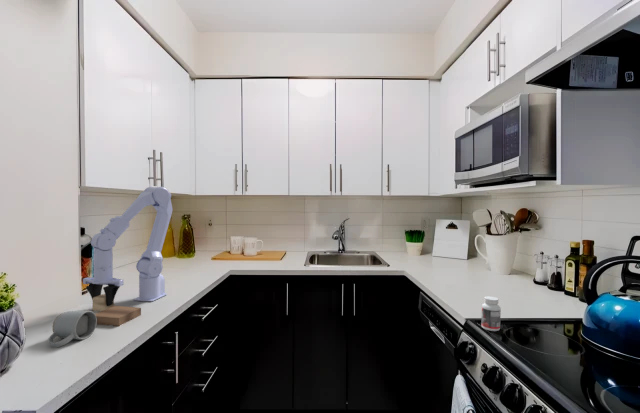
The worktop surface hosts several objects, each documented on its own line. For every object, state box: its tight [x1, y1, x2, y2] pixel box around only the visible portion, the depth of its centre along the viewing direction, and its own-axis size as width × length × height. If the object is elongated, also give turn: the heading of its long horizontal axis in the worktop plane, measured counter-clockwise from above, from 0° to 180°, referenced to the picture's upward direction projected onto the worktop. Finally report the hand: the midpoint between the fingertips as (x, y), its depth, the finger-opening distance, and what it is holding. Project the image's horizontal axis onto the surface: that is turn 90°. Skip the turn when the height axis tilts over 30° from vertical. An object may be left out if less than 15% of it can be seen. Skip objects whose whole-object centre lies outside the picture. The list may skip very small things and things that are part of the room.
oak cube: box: [92, 293, 115, 312], centre depth 119 cm, size 4×4×4 cm
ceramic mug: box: [47, 310, 98, 348], centre depth 94 cm, size 11×8×8 cm
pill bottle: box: [480, 295, 502, 332], centre depth 107 cm, size 5×5×10 cm
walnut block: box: [94, 305, 142, 327], centre depth 110 cm, size 10×10×3 cm
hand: (103, 304), depth 119 cm, fingers closed on oak cube, 4 cm apart
